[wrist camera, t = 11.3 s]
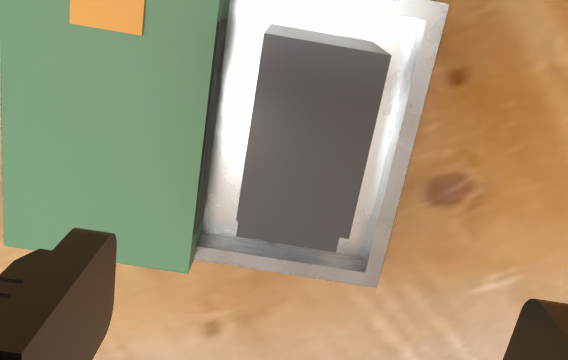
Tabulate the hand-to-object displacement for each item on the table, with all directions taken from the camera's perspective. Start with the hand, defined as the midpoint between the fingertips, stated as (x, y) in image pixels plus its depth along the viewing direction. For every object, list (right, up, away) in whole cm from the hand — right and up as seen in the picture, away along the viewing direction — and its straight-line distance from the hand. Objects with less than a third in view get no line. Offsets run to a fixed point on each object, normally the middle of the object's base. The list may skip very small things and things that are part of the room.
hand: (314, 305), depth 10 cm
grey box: (0, +5, +17) cm, 18 cm away
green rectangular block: (-8, +9, +16) cm, 20 cm away
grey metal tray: (0, +5, +17) cm, 18 cm away
